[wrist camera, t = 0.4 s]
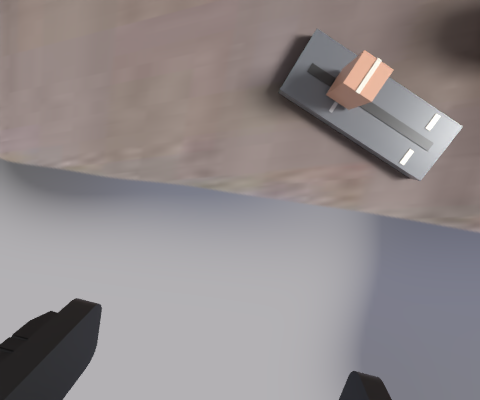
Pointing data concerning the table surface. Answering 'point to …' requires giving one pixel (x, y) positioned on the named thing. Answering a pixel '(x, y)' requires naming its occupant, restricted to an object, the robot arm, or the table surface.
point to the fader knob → (359, 81)
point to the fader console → (370, 111)
